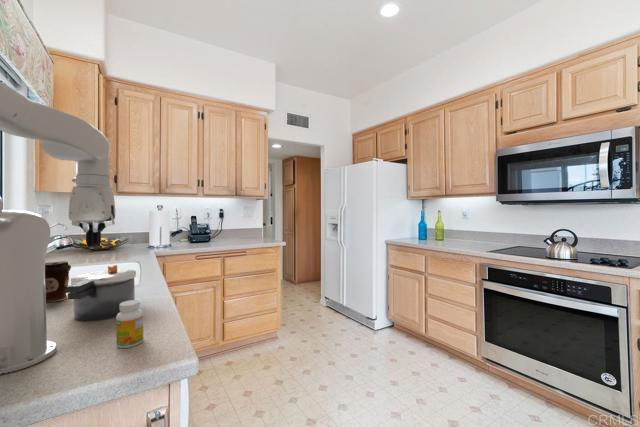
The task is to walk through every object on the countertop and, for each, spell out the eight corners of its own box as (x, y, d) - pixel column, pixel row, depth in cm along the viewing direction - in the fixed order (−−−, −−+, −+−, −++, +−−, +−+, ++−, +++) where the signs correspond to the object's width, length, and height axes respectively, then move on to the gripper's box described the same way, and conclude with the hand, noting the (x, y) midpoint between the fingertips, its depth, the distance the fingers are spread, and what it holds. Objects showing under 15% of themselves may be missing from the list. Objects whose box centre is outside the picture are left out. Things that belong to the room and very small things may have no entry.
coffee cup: (54, 304, 96) (53, 265, 96) (30, 304, 96) (28, 265, 96) (77, 296, 105) (76, 260, 104) (54, 296, 105) (53, 260, 105)
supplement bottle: (110, 347, 67) (109, 306, 67) (128, 337, 72) (128, 298, 72) (131, 349, 66) (130, 307, 66) (148, 338, 72) (148, 299, 71)
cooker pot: (106, 328, 77) (105, 291, 77) (43, 331, 75) (42, 293, 75) (145, 300, 100) (145, 271, 99) (97, 302, 98) (97, 273, 97)
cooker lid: (93, 273, 96) (93, 264, 96) (145, 272, 98) (145, 262, 98) (38, 293, 74) (38, 281, 74) (106, 291, 77) (106, 279, 76)
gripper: (54, 180, 79) (54, 248, 79) (114, 181, 81) (114, 247, 81) (74, 183, 87) (74, 245, 87) (128, 183, 89) (128, 244, 89)
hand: (93, 245), depth 84 cm, fingers closed
